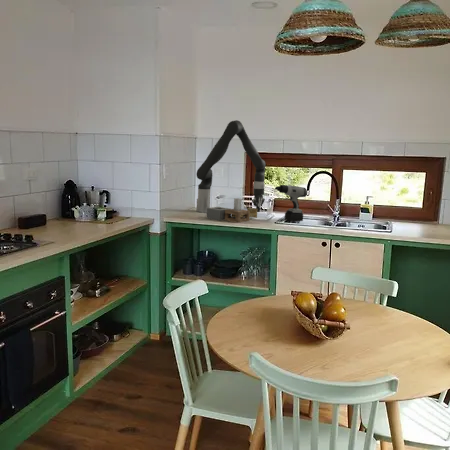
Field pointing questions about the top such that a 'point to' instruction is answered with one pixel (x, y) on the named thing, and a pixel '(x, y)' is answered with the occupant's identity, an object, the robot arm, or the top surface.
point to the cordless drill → (294, 194)
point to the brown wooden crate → (252, 213)
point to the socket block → (237, 215)
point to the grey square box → (216, 213)
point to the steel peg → (237, 205)
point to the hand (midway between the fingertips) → (257, 211)
